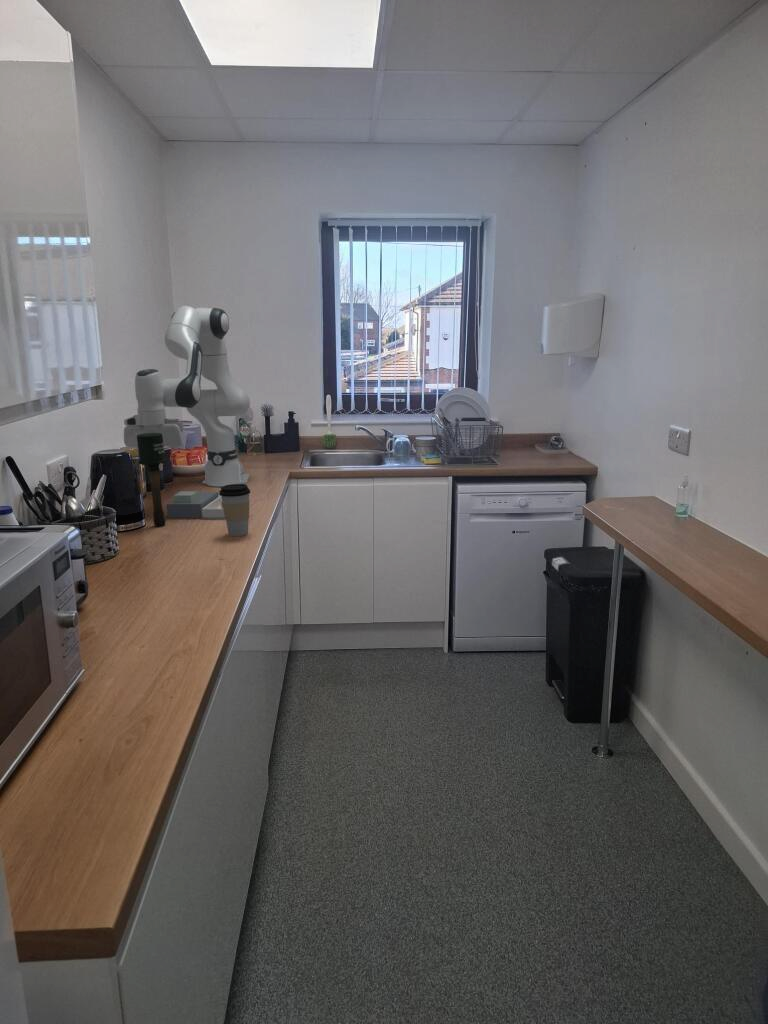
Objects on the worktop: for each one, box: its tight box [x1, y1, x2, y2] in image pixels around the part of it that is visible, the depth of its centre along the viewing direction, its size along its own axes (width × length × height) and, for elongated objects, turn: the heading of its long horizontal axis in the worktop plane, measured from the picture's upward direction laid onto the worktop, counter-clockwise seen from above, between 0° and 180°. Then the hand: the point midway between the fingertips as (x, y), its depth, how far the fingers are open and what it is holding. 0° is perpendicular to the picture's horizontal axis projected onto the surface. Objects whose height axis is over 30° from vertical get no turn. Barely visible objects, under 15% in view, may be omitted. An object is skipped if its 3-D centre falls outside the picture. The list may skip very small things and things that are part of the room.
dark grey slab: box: [165, 491, 220, 519], centre depth 235 cm, size 18×12×5 cm, turn 175°
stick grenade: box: [137, 433, 168, 528], centre depth 215 cm, size 8×9×30 cm
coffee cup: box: [218, 483, 251, 537], centre depth 206 cm, size 9×9×15 cm
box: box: [201, 495, 225, 520], centre depth 234 cm, size 20×10×4 cm, turn 175°
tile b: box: [173, 490, 198, 503], centre depth 230 cm, size 6×6×2 cm
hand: (156, 459), depth 228 cm, fingers closed
